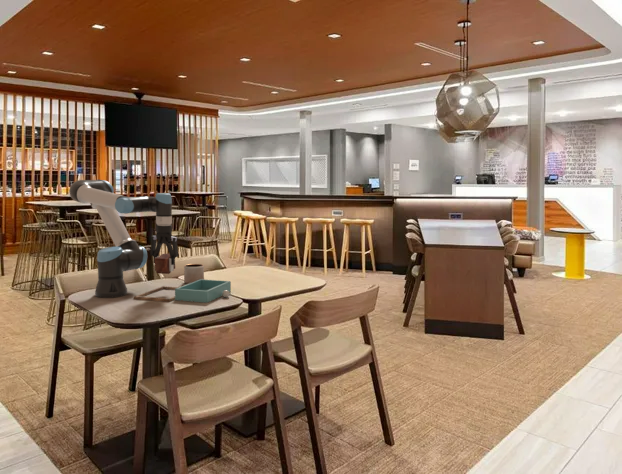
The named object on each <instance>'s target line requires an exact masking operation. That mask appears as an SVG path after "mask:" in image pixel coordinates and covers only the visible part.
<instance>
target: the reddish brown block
mask: <svg viewBox="0 0 622 474" xmlns="http://www.w3.org/2000/svg"><path fill="white" fill-rule="evenodd" d="M169 258H171V257H170V254H169V252H168V253H162V254H161V255H160V256H158V257H157V258H155V263H154V271H155V272H156V273H157V274H159V275H160V274H161V275H163V274H164V275H169V274H171V273H172V271H171V272H169ZM175 269H176V263H175V264H174V270H175Z"/></svg>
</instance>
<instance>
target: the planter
mask: <svg viewBox="0 0 622 474" xmlns="http://www.w3.org/2000/svg"><path fill="white" fill-rule="evenodd" d="M204 267H205V265H204V264H202V263H189V264H185V265H183V282H184V283H185V284H186V285H187V284H189V283H192V282H195V281H197V280H200V279H205V268H204Z"/></svg>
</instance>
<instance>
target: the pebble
mask: <svg viewBox="0 0 622 474" xmlns="http://www.w3.org/2000/svg"><path fill="white" fill-rule="evenodd" d="M230 293H231V292H229V291H228V290H224V291H223V292H222V297H224V298H228V297H230Z"/></svg>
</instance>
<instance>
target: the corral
mask: <svg viewBox="0 0 622 474" xmlns="http://www.w3.org/2000/svg"><path fill="white" fill-rule="evenodd" d="M179 287H180V286H178V287H177V286H166V285H162V286H160V287H156V288H154V289H151V290H148V291H145V292H142V293H139V294H137V295H134V296H133V300H140V301H141V300H142V301H155V302H167V303H170V302H173V301H175V300H174V299H175V295H173V296H172V297H169V298H166V297H165V298H164V297H154V296H153V297H152V296H148V295H150V294H154V293H157V292H159V291H162V290H171V289H176V288H179ZM172 300H173V301H172Z"/></svg>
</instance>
